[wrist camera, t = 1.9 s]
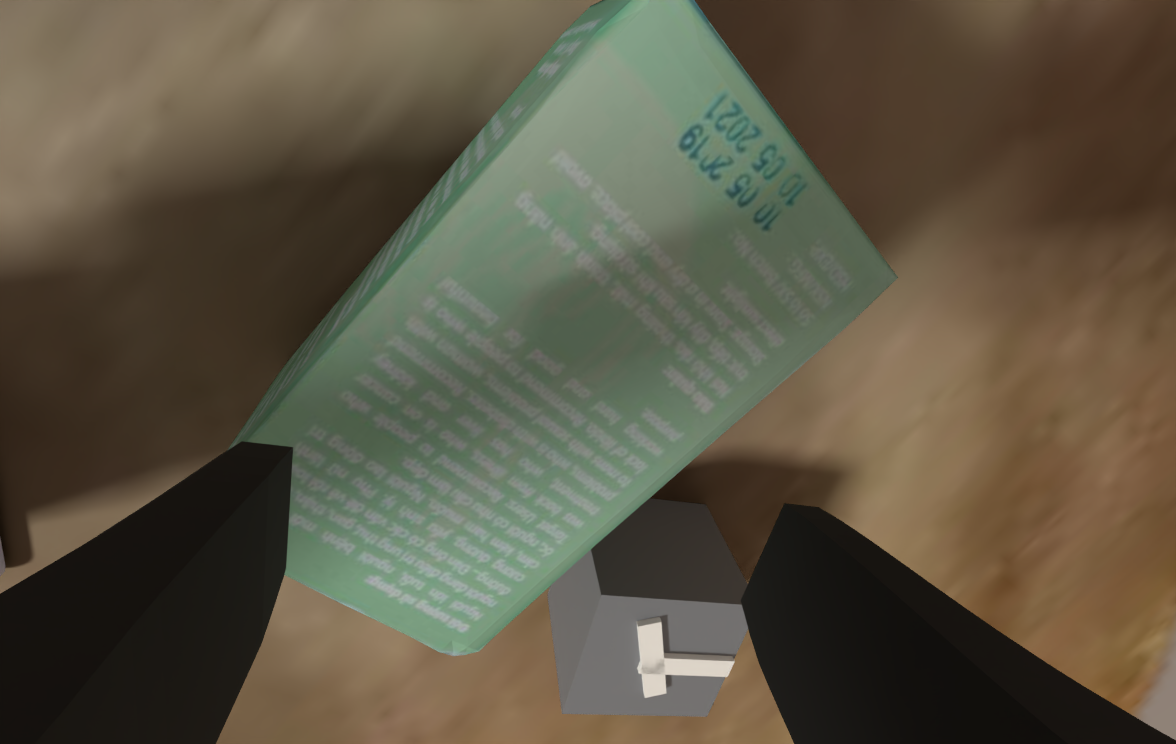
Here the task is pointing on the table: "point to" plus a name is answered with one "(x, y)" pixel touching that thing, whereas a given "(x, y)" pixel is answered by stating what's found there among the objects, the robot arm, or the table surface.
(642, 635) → the charcoal cube
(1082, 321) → the table surface
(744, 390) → the box
